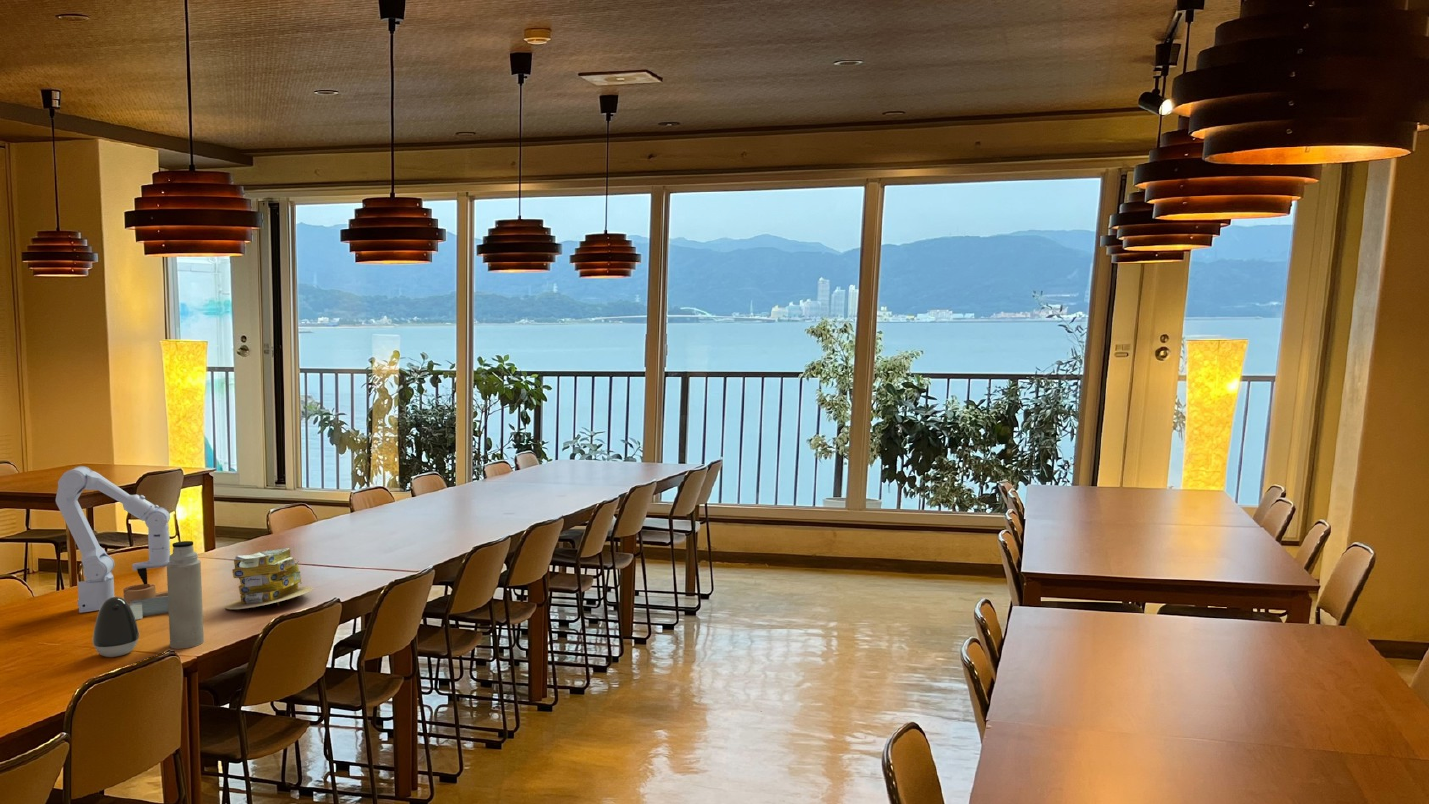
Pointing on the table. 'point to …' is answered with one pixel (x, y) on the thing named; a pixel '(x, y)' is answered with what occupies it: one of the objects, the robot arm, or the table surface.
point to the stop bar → (149, 606)
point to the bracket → (141, 592)
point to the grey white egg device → (115, 628)
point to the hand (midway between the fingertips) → (161, 589)
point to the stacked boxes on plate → (266, 578)
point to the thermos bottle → (184, 597)
